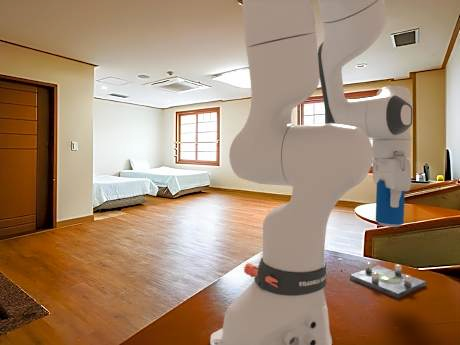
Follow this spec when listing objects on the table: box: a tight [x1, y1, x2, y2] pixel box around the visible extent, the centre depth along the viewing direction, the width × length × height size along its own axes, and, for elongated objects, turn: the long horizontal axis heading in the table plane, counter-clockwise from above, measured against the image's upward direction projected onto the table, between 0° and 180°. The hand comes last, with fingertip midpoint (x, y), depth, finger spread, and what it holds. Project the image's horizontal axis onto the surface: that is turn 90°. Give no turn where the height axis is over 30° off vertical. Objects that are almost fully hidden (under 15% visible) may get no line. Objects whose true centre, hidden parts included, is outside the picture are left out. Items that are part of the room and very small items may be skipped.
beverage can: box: [375, 179, 406, 228], centre depth 78 cm, size 6×6×12 cm
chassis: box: [349, 261, 427, 299], centre depth 79 cm, size 13×13×4 cm
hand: (389, 204), depth 78 cm, fingers closed on beverage can, 6 cm apart
